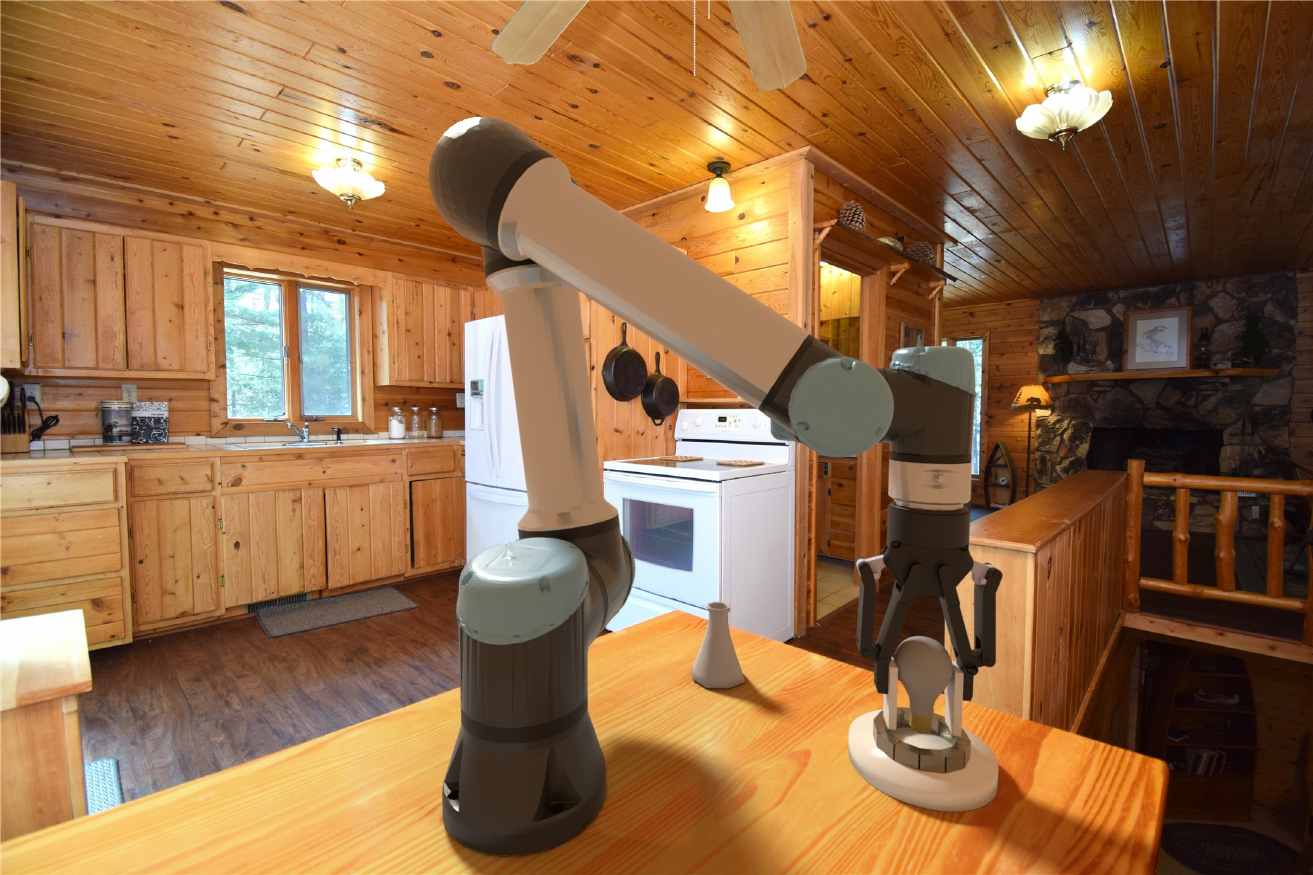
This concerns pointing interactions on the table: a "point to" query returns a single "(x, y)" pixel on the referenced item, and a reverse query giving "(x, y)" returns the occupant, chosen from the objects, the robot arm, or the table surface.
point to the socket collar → (921, 757)
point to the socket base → (918, 786)
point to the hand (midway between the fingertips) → (920, 724)
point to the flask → (717, 652)
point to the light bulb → (923, 677)
